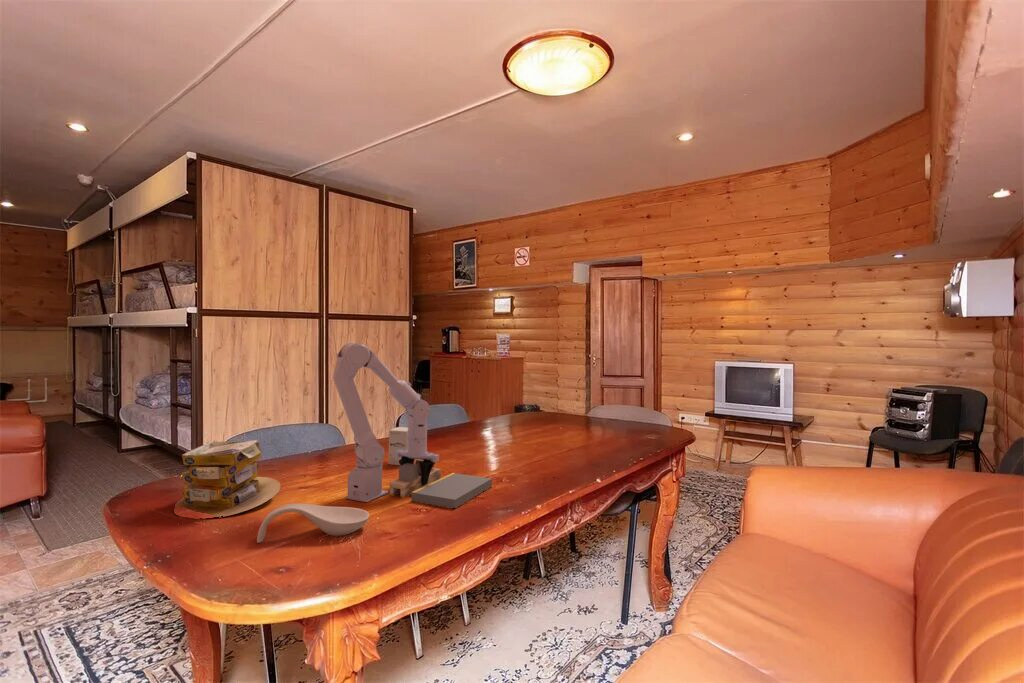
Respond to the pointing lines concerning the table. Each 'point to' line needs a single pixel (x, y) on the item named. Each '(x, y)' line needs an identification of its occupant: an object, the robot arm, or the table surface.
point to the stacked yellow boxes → (225, 479)
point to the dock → (451, 490)
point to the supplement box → (397, 443)
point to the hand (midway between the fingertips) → (416, 483)
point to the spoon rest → (322, 518)
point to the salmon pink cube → (419, 466)
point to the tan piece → (412, 484)
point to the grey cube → (408, 472)
